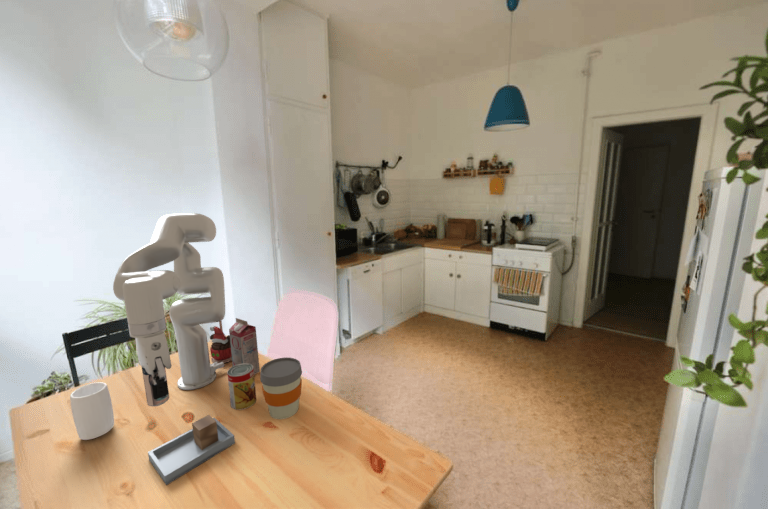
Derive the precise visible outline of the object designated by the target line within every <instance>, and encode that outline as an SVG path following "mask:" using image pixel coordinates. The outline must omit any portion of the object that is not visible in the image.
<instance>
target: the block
mask: <svg viewBox="0 0 768 509" xmlns="http://www.w3.org/2000/svg"><path fill="white" fill-rule="evenodd" d="M213 418H214V417H212V416H211V415H210V414H208V415H207V414H206V416H204V417H202V418H200V419H198V420H195V421H193V422H192V423H191V427H192V429H193V435H194V442H195V443H196V445H197V446H198V447H199V448H200V449H201V450H203V449H205V448H206V447H208V446H210V445H212V444H213V443H215V442H217V441H218V431H217V423H216V421H215V420H214V419H213Z"/></svg>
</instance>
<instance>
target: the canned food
mask: <svg viewBox="0 0 768 509" xmlns="http://www.w3.org/2000/svg"><path fill="white" fill-rule="evenodd" d="M226 372H227V374H226V375H227V383H228V392H229V400H230V407H231V408H232V409H233V410H236V411H238V410H239V411H240V410H246V409H248V408H251V407H252V406H253V405H255V404H256V402H257V390H256V381H255V375H254V369H253V365H252V364H249V363H242V364H237V365H235V366H233V365H232V366H231V367H229V369H228V370H227V371H226Z"/></svg>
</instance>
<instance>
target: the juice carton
mask: <svg viewBox="0 0 768 509" xmlns="http://www.w3.org/2000/svg"><path fill="white" fill-rule="evenodd" d="M256 328H257V327H256V326H254V325H251V324H249V323H248V321H247V320H244V319H241V318H237V317H236V318H235V322H234V324H233V325H232V326H230V327H229V329H228V332H229V333H228V335H230V343H231V353H232V360H231V361H232V367H233V366H235V365H237V364H242V363H249V364H252V365H253V369H254V376H255V375H256V374H258V373H260V372H261V368H260V360H259V359H260V357H259V347H258V340H257V338H258V336H257V329H256Z"/></svg>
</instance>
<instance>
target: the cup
mask: <svg viewBox="0 0 768 509" xmlns="http://www.w3.org/2000/svg"><path fill="white" fill-rule="evenodd" d="M69 399H70V400H69V401H70V409H71V414H72V419H73V423H74V426H75V429H76V433H77V436H78V438H79V439H80V440H84V441H87V440H92V439H95V438H98V437H101V436H103V435H105V434H107V433H108V432H109V431H111V430H112V428H113V427H114V425H115V418H114V409H113V403H112V402H113V401H112V396H111V394H110V390H109V387H108V385H107V383H106V382H102V381H101V382H100V381H97V382H91V383H88V384H84V385H83V386H80V387H77V388H76V389H75V390H73V391H72V392H71V394H70V395H69Z"/></svg>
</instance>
